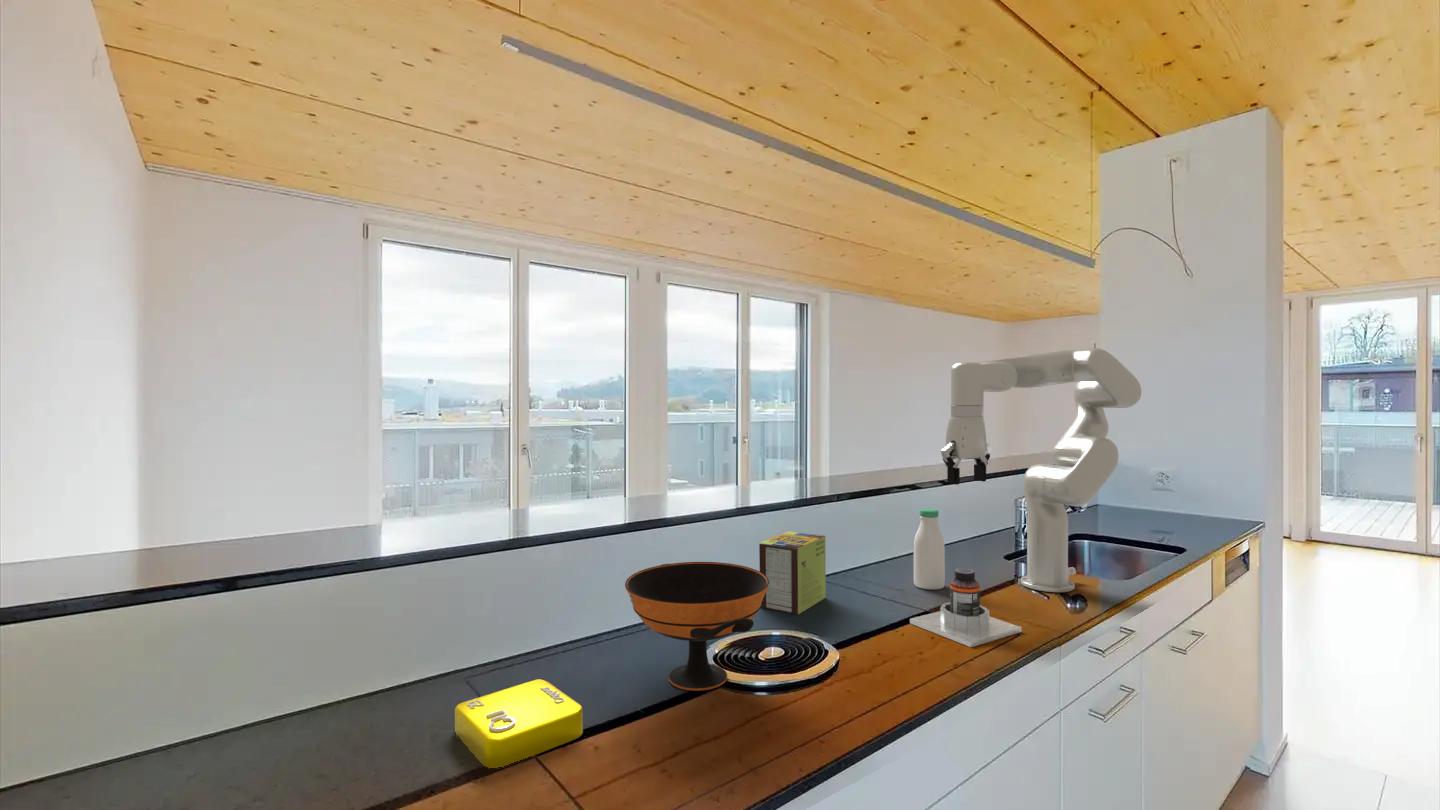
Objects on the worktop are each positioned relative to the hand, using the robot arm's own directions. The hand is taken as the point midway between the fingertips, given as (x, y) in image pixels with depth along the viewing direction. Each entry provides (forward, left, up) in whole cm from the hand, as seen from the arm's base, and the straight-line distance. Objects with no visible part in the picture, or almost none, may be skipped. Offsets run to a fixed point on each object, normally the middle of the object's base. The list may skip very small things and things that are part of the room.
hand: (966, 482), depth 163 cm
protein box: (+39, -19, -29) cm, 52 cm away
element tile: (+111, +8, -29) cm, 115 cm away
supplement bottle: (+18, +14, -28) cm, 36 cm away
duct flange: (+18, +14, -28) cm, 36 cm away
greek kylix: (+79, +6, -28) cm, 84 cm away
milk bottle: (+1, -11, -28) cm, 31 cm away
